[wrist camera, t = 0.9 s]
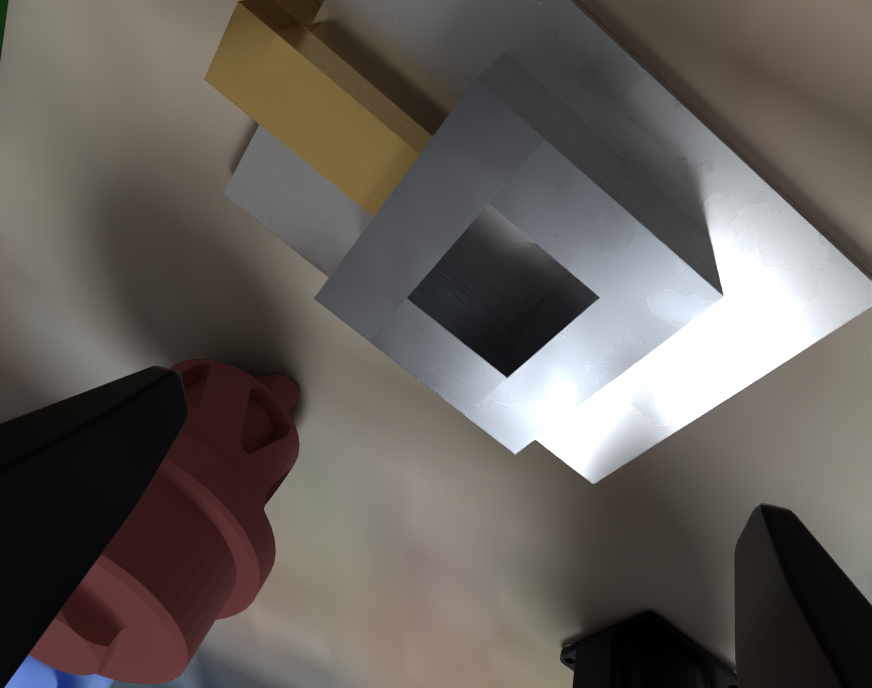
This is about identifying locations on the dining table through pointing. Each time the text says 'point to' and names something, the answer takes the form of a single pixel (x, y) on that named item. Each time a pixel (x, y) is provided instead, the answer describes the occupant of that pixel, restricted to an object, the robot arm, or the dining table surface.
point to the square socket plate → (525, 215)
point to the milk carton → (2, 19)
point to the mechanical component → (185, 535)
